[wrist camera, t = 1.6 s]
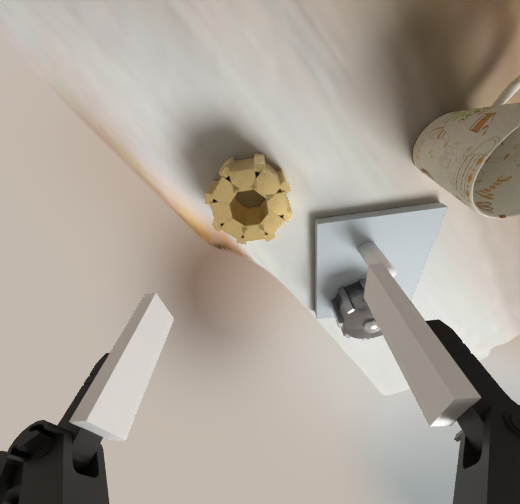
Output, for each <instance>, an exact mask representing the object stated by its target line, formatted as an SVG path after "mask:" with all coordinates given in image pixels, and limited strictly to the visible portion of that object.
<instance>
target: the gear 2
mask: <svg viewBox="0 0 520 504" xmlns="http://www.w3.org/2000/svg"><path fill="white" fill-rule="evenodd" d="M365 285H366V279H360V280H359V282H356V283H353V284H350V285H348V286H346V287H344V286H342V287H340V288H339V289H338V294H337V295H336V297H335V300H331V307H332V310H333V313H334V316H335V319H336V322H337V324H338V327H341V329H342V332H343V335H344V336H345V337H347V338H349V337H354V338H359V339H362V340H370V338H374V337H378V336H381V335H383V334H382V332H381V330H380V328H379V326H378V324H377V322H376V320H375V318H374V316H373V314H372V312H371V310H370V308H369V307H368V305H367V303H366V301H365V299H364V291H365Z"/></svg>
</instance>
